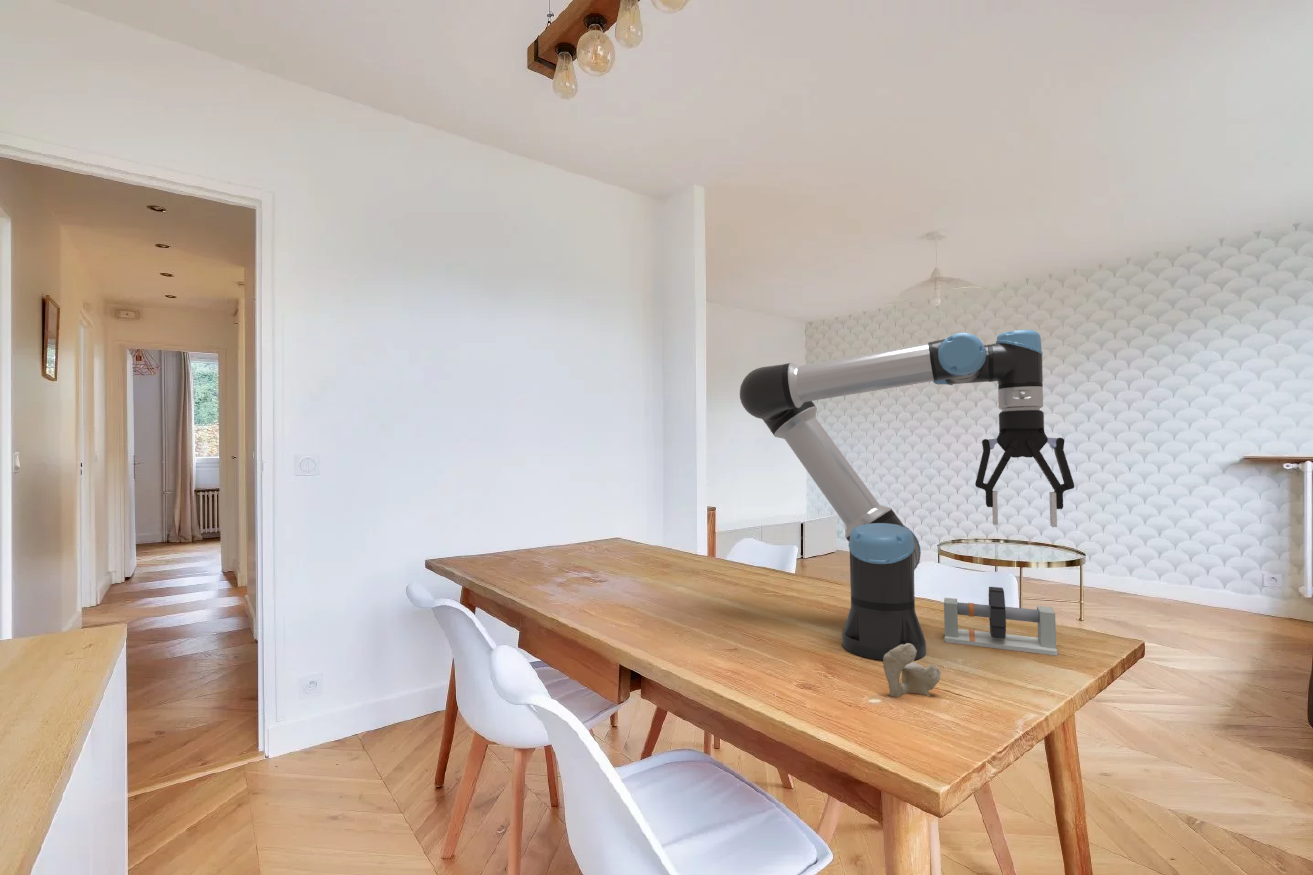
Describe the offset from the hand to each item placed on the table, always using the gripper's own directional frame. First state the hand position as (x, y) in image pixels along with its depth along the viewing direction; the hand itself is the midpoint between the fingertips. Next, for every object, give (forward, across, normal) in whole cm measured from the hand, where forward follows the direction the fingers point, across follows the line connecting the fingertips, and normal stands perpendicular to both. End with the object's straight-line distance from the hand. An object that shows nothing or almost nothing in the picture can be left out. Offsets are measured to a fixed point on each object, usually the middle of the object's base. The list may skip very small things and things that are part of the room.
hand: (1023, 525), depth 115 cm
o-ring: (+22, -5, 0) cm, 23 cm away
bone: (+24, -19, -33) cm, 45 cm away
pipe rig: (+23, -5, 0) cm, 24 cm away
